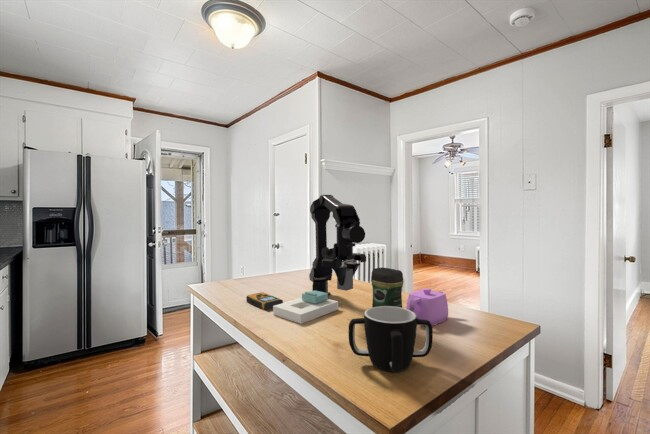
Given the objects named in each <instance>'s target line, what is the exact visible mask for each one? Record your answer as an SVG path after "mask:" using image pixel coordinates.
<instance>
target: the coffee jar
mask: <svg viewBox="0 0 650 434" xmlns="http://www.w3.org/2000/svg"><path fill="white" fill-rule="evenodd" d="M370 277H371V278H370V282H371V286H372V303H371V304H372V307H371V308H373V307H379V306H394V307H401V308H403V301H402V298H403V297H402V291H403V290H402V289H403V286H404V274H403V272H402V271H401V270H399V269H394V268H389V267H376V268H373V269H372V272H371V276H370Z"/></svg>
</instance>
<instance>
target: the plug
mask: <svg viewBox="0 0 650 434" xmlns="http://www.w3.org/2000/svg"><path fill="white" fill-rule="evenodd" d="M344 267H347V265H346V264H344ZM336 288H337V290H340V291H345V292H347V291H350V290H352V289H354V276H353V269H349V268H347V269H346V274H345V278H344V283H343V286H341V285H340V284H339V282H338V279H337V278H336Z"/></svg>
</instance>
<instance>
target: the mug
mask: <svg viewBox="0 0 650 434" xmlns="http://www.w3.org/2000/svg"><path fill="white" fill-rule="evenodd" d="M363 314H364V315H363V317H359V318H352V319H351V320H350V321H349V323H348V343H349V346H350V349H351V351H352V353H353V354H355V355H356V356H359V357H369V360H370V361H371V364H372V365H373V366H374V367H376V368H378V369H379V370H382V371H386V372H394V373H400V372H402V371H403V370H406V369H408V368H409V367H410V365H411V362H412V359H413V358H424V357H427V356H428V355H429V354H430V353H431V349H432V347H433V337H434V336H433V333H434V331H433V326H432V325H431V323H430V322H429V321H428V320H423V319H417V316H416V314H415V313H414V312H412V311H410V310H408V309H406V307H402V308H401V307H394V306H379V307H373V308H372V307H370V308H368V309H365V311H364V313H363ZM356 325H364V335H365V341H366V348H367V349H366V348H365V349H364V348H358V346H357V344H356V335H355V334H356V333H355V329H356ZM418 325H419V326H425V342H424V346H423V348H422V349H420V350H415V345H416V337H417V326H418Z"/></svg>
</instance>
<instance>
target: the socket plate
mask: <svg viewBox="0 0 650 434" xmlns="http://www.w3.org/2000/svg"><path fill="white" fill-rule="evenodd" d="M338 310H339V301H338V300H333V299H330V298H328V300H326V301H323V302H320V303H317V304H314V303H310V302H306V301H303V300H302V297H299V298H295V299H293V300H292V299H291V300H289V301H285V302H283V303H282V304H278V305H275V306H273V309H272V312H273V313H272V314H273V315H274V316H276V317H280V318H283V319H286V320H289V321H291V322H295V323H298V324H301V325H302V324H303V323H307V322H309V321H312V320H314V319H317V318H319V317H322V316H325V315H327V314H331V313H333V312H335V311H338Z"/></svg>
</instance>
